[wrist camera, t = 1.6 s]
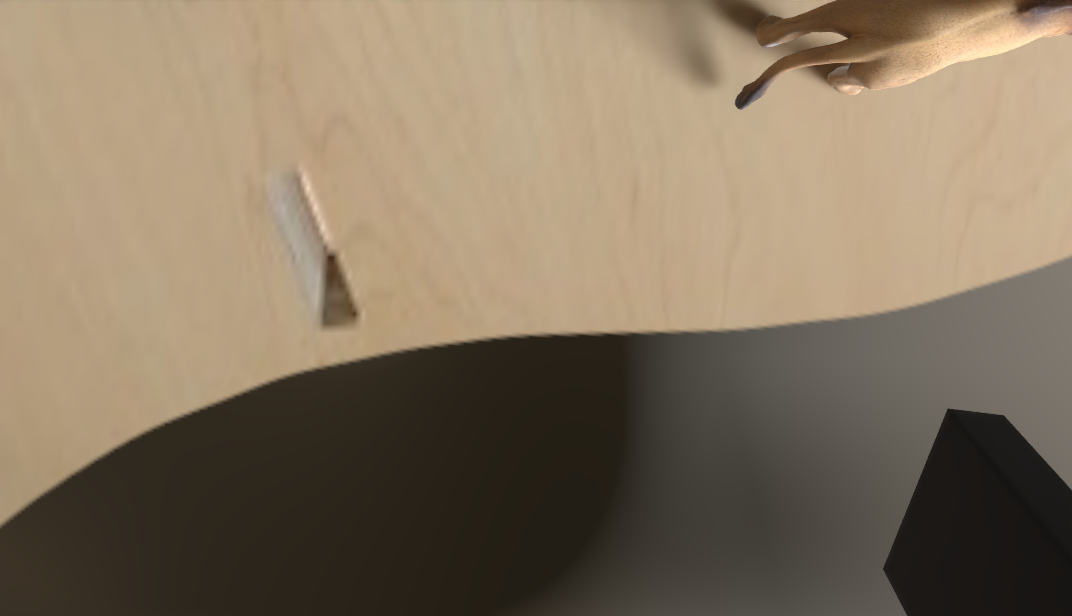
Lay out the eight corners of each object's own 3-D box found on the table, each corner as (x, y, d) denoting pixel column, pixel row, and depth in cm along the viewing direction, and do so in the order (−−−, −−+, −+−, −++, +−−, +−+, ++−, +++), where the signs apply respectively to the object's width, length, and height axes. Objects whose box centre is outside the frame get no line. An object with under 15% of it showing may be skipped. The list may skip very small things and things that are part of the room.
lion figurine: (1044, -145, 32) (1263, -218, 24) (1084, -13, 34) (1302, -37, 25) (704, 47, 33) (798, 43, 24) (759, 167, 35) (865, 203, 26)
